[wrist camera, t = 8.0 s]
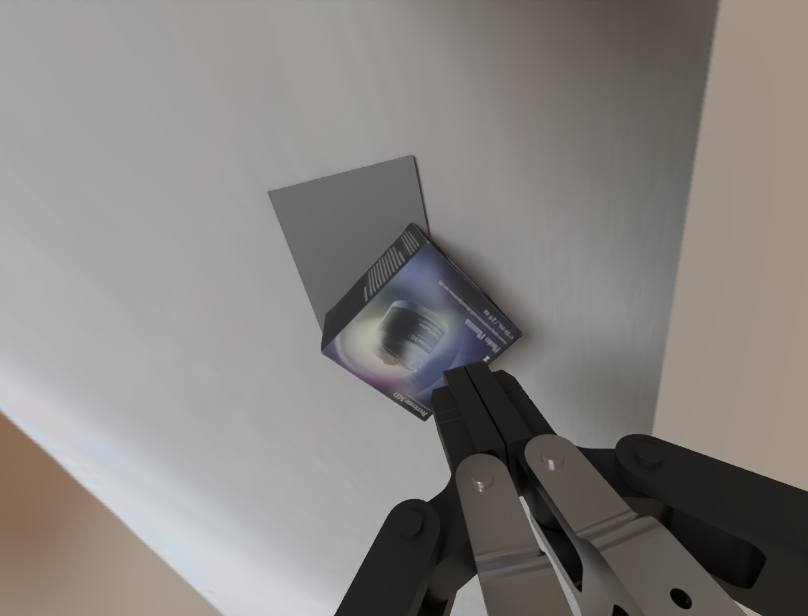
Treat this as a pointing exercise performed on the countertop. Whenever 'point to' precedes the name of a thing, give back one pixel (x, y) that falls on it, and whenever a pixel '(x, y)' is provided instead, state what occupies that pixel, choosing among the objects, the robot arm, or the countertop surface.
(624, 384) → the countertop surface
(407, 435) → the countertop surface
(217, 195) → the countertop surface
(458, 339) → the small box
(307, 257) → the mat
